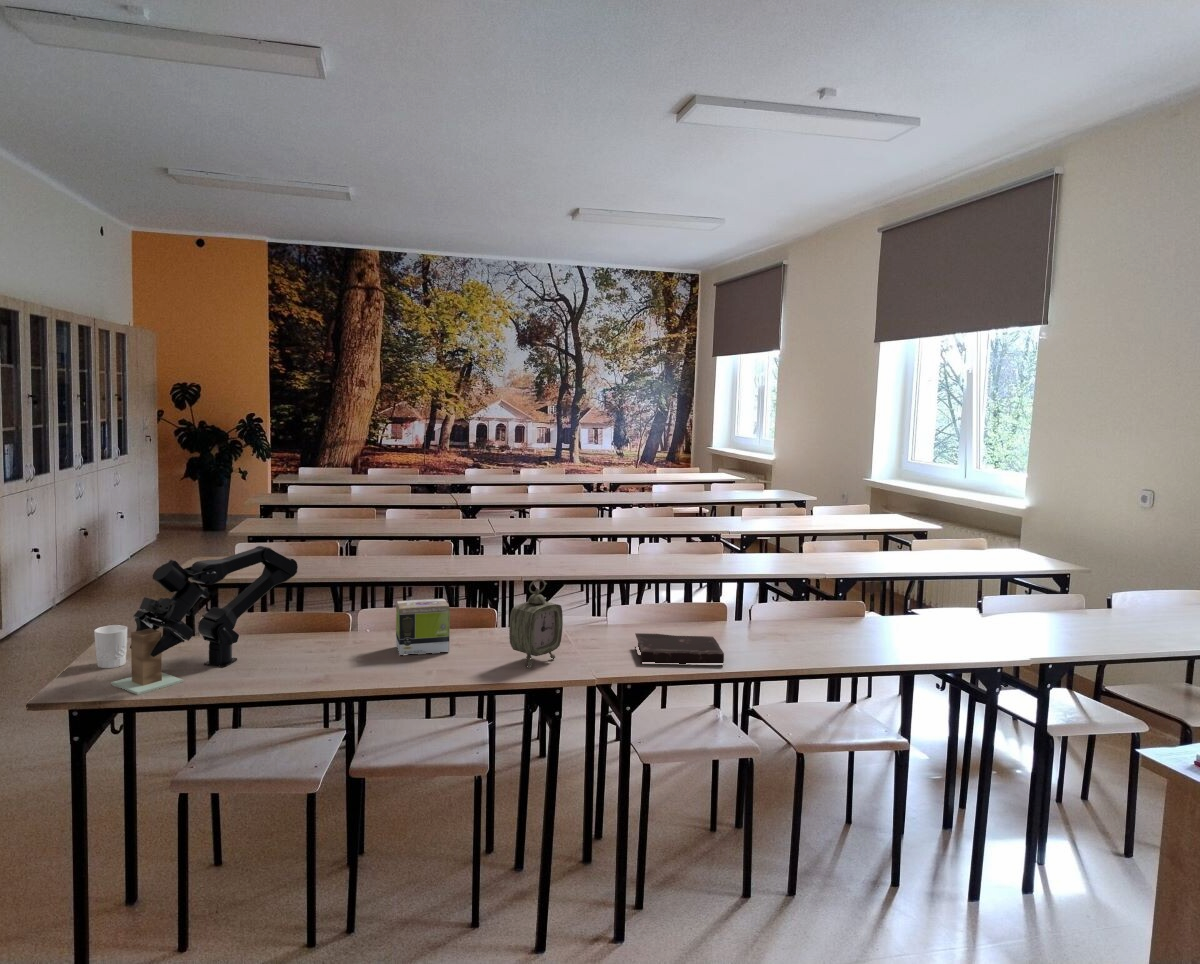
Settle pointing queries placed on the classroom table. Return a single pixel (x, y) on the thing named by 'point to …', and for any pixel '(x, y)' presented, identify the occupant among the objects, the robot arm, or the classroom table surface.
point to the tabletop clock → (536, 626)
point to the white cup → (111, 646)
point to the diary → (679, 649)
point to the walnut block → (145, 657)
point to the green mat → (140, 689)
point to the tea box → (422, 626)
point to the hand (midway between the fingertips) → (141, 652)
